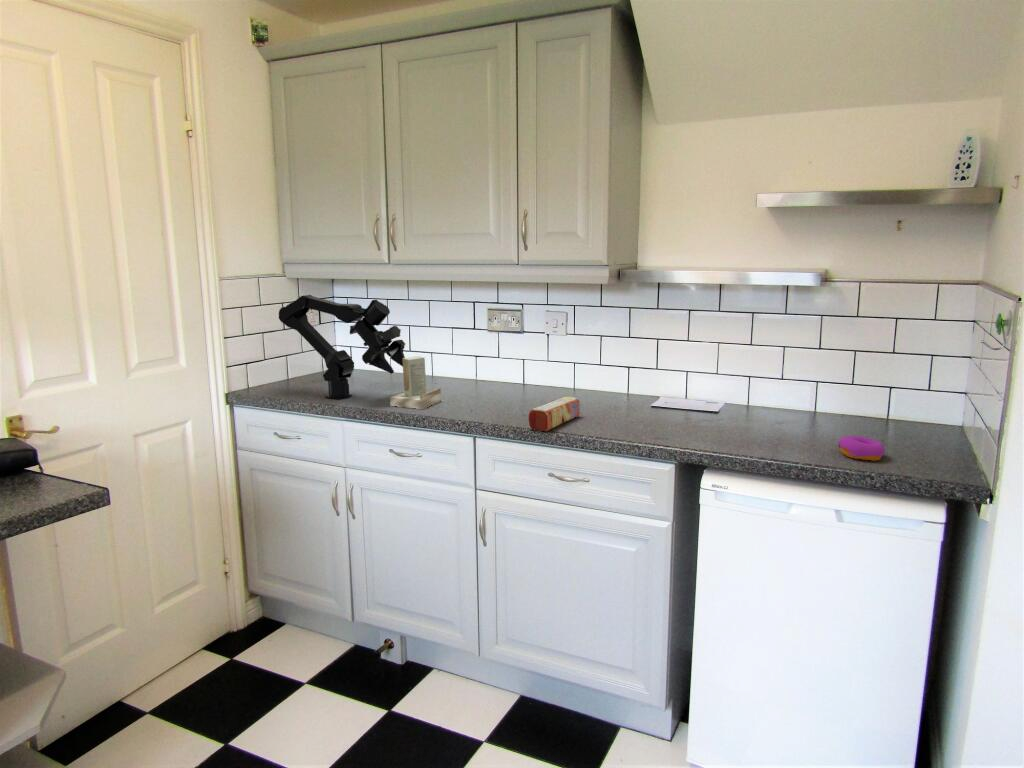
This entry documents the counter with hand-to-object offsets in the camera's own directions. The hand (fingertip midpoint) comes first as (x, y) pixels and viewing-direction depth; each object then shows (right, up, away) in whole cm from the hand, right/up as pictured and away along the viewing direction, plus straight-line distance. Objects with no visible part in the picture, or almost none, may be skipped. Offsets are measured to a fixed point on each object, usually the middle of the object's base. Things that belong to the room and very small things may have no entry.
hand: (400, 370), depth 228 cm
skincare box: (+5, -8, 0) cm, 9 cm away
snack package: (+49, -16, -25) cm, 57 cm away
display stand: (+5, -11, 0) cm, 12 cm away
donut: (+122, -22, -57) cm, 136 cm away
